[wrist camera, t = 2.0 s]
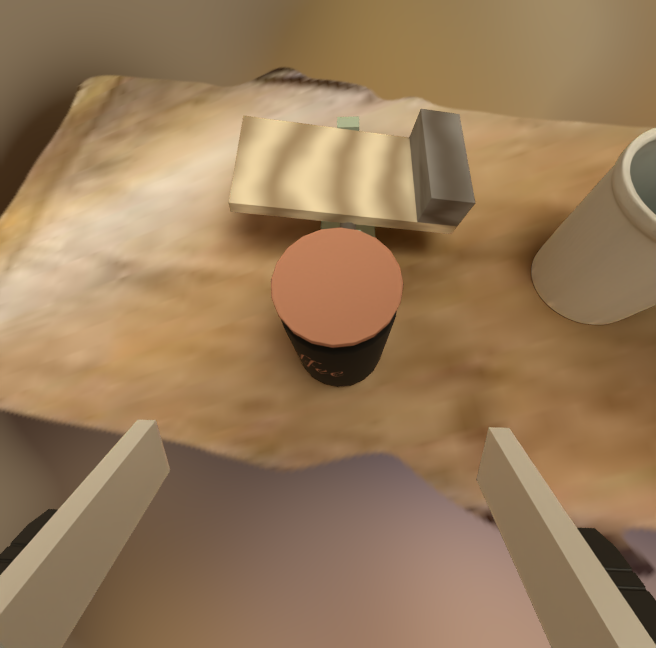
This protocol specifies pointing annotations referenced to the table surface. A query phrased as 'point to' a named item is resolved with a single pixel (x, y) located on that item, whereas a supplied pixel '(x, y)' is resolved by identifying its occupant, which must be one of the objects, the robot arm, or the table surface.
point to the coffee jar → (337, 302)
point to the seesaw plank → (355, 174)
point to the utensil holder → (606, 245)
